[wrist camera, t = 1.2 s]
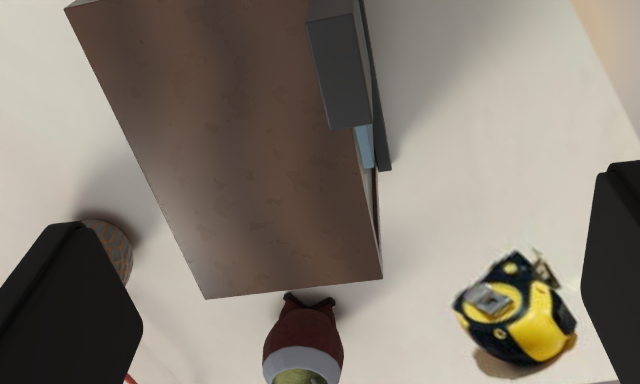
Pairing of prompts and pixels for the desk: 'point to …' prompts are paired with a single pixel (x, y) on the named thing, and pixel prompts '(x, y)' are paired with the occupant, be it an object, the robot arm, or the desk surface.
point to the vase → (114, 247)
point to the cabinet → (239, 139)
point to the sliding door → (342, 68)
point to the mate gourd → (303, 345)
